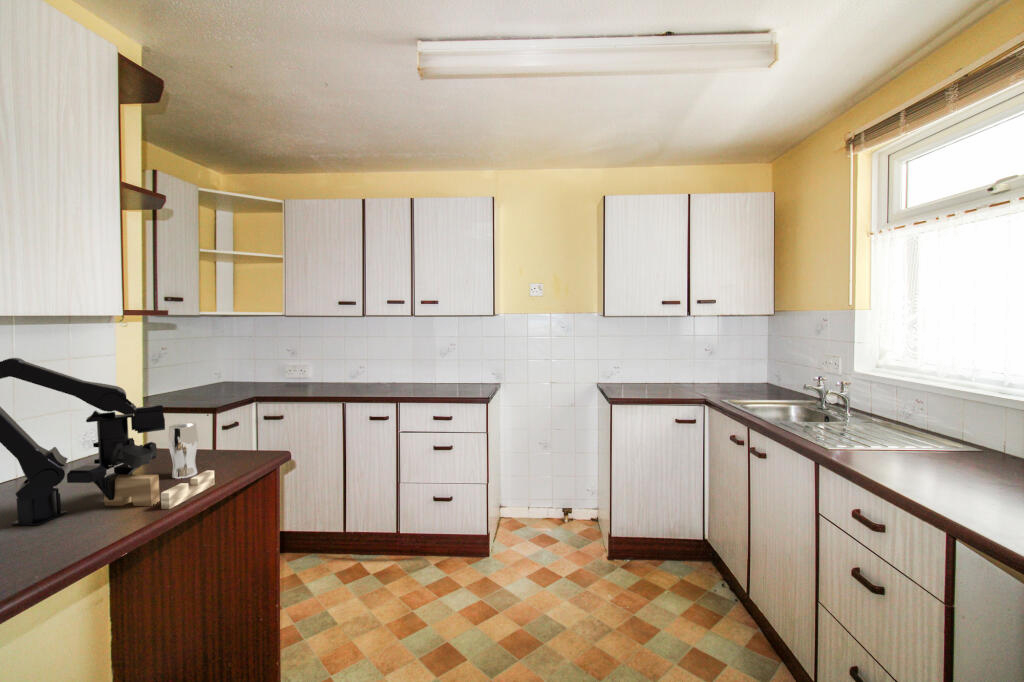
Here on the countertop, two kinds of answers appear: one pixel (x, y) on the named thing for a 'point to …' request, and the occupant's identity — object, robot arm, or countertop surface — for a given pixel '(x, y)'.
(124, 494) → the tan block
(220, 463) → the countertop surface
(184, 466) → the beer glass
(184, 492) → the birch rail
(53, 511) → the robot arm
